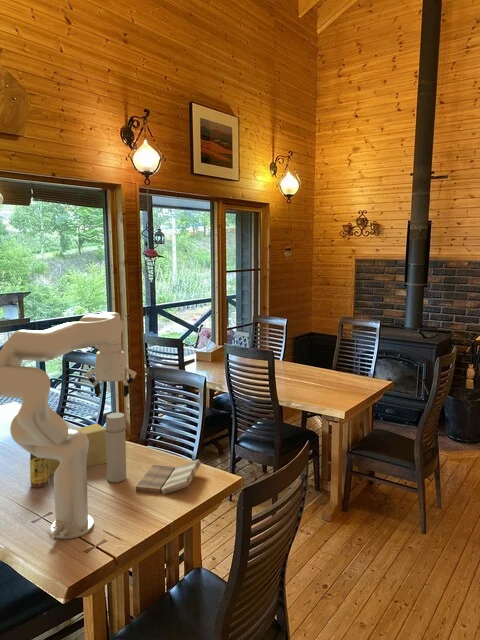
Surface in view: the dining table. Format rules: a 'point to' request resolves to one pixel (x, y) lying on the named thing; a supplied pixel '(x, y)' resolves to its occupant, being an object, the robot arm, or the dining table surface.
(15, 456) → the dining table surface
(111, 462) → the water bottle
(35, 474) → the sauce bottle
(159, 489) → the laid board
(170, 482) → the board
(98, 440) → the cheese
